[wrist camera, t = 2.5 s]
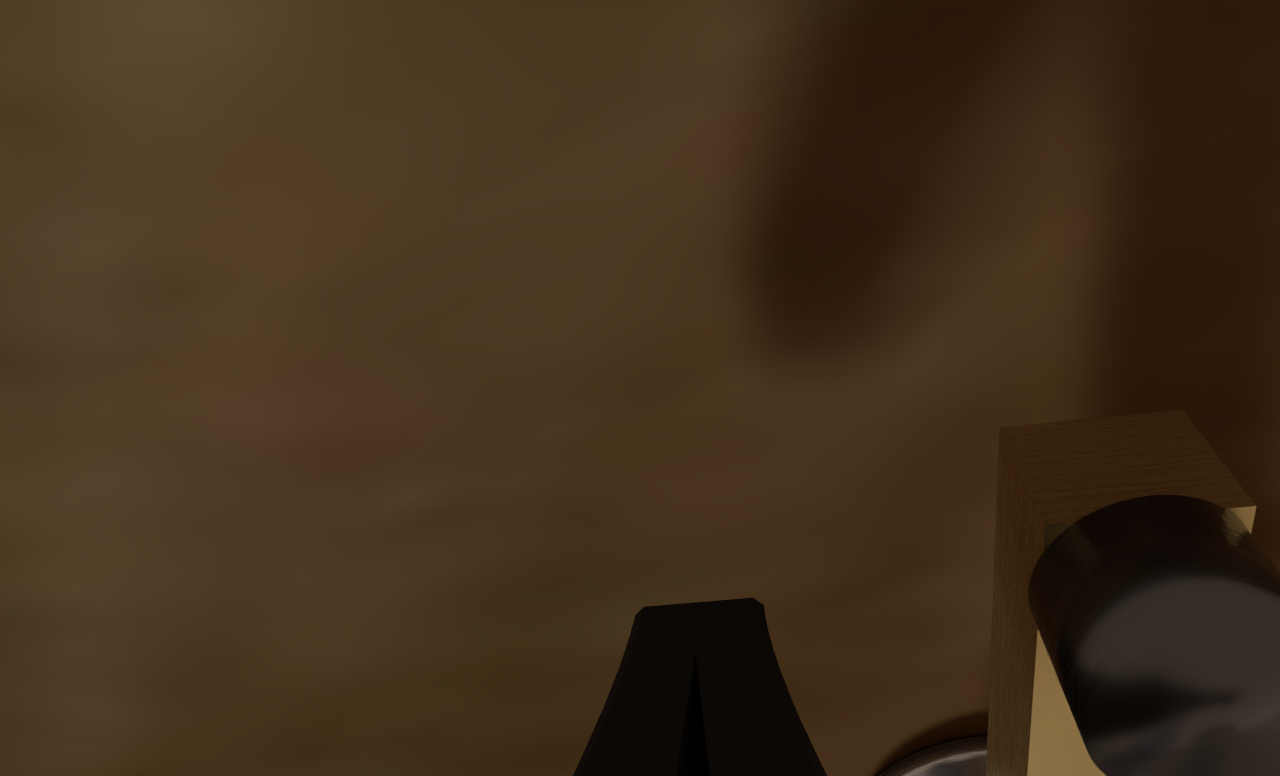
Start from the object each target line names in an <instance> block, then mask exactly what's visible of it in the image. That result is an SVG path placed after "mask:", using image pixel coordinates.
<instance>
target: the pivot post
mask: <svg viewBox="0 0 1280 776" xmlns="http://www.w3.org/2000/svg"><path fill="white" fill-rule="evenodd" d="M987 737H988V736H981V737H971V738H965V739H960V740H955V741H950V742H946V743H943V744H939V745H936V746H932V747H930V748H927V749H924V750H922V751H919V752H917V753H914V754H912V755H910V756H908V757H906V758H904V759H902V760H900V761H899V762H897V763H896V764H894V765H892V766H891V767H889V768H888V769H886V770H885V771H884V772H883V773H881V774H880V775H879V776H986V762H987Z"/></svg>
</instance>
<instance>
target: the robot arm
mask: <svg viewBox="0 0 1280 776" xmlns="http://www.w3.org/2000/svg"><path fill="white" fill-rule="evenodd" d="M573 776H827V774H826V773H825V771H824V769H823V767H822V765H821V763H820V760H819V758H818V756H817V754H816V752H815V750H814V748H813V746H812V743H811V741H810V739H809V737H808V735H807V733H806V731H805V729H804V726H803V724H802V722H801V720H800V718H799V716H798V713H797V711H796V709H795V706H794V704H793V701H792V699H791V697H790V694H789V692H788V689H787V686H786V684H785V681H784V678H783V676H782V673H781V670H780V668H779V665H778V662H777V659H776V656H775V653H774V650H773V646H772V643H771V639H770V636H769V632H768V627H767V623H766V618H765V610H764V605H763V604H761V603H760V602H759V601H757V600H756V599H754V598H744V599H732V600H720V601H708V602H696V603H684V604H673V605H661V606H649V607H643V608H642V609H641V610H640V611H639V612H638V613H637V614H636V616H635V619H634V623H633V627H632V630H631V634H630V637H629V640H628V643H627V646H626V650H625V653H624V656H623V658H622V661H621V664H620V667H619V670H618V672H617V675H616V678H615V680H614V683H613V685H612V688H611V690H610V693H609V695H608V698H607V700H606V703H605V705H604V708H603V710H602V713H601V715H600V717H599V719H598V722H597V724H596V726H595V728H594V731H593V733H592V735H591V737H590V740H589V742H588V744H587V746H586V748H585V751H584V753H583V755H582V757H581V760H580V762H579V764H578V766H577V768H576V770H575V773H574V775H573Z"/></svg>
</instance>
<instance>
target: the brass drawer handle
mask: <svg viewBox="0 0 1280 776" xmlns="http://www.w3.org/2000/svg"><path fill="white" fill-rule="evenodd" d="M1256 507H1257V506H1256V504H1255V503H1254V502H1253V501H1252V499H1251V498H1250V497H1249V495H1248V494H1247V493H1246V491H1245V490H1244V489H1243V487H1242V486H1241V485H1240V484H1239V482H1238V481H1237V480H1236V478H1235V477H1234V476H1233V474H1232V473H1231V472H1230V470H1229V469H1228V468H1227V467H1226V465H1225V464H1224V463H1223V461H1222V460H1221V459H1220V457H1219V456H1218V455H1217V453H1216V452H1215V451H1214V450H1213V448H1212V447H1211V446H1210V444H1209V443H1208V442H1207V440H1206V439H1205V438H1204V436H1203V435H1202V434H1201V433H1200V431H1199V430H1198V429H1197V427H1196V426H1195V425H1194V423H1193V422H1192V421H1191V419H1190V418H1189V417H1188V416H1187V414H1186V413H1185V412H1184V410H1183V409H1180V410H1170V411H1160V412H1150V413H1140V414H1129V415H1119V416H1109V417H1099V418H1089V419H1078V420H1068V421H1058V422H1048V423H1037V424H1027V425H1017V426H1007V427H1000V432H999V458H998V483H997V509H996V534H995V559H994V585H993V610H992V635H991V661H990V686H989V711H988V737H987V762H986V776H1280V573H1279V572H1278V570H1277V569H1276V568H1275V566H1274V565H1273V563H1272V562H1271V561H1270V559H1269V558H1268V557H1267V555H1266V554H1265V552H1264V551H1263V550H1262V548H1261V547H1260V546H1259V544H1258V543H1257V542H1256V540H1255V539H1254V537H1253V536H1252V535H1251V531H1252V526H1253V521H1254V517H1255V512H1256Z"/></svg>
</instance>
